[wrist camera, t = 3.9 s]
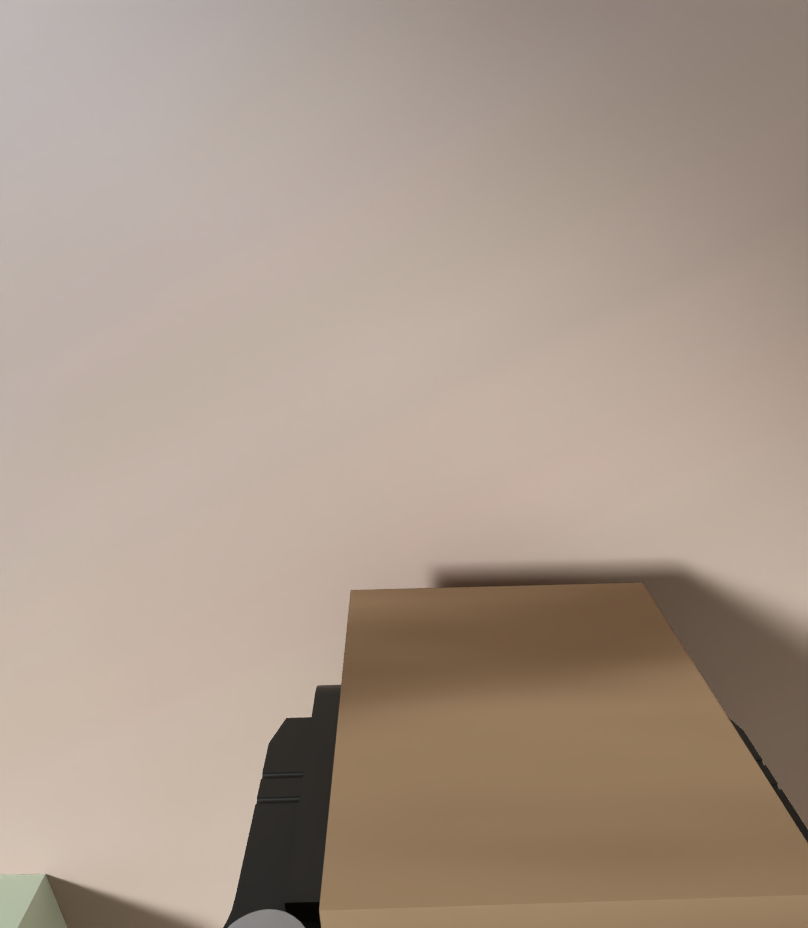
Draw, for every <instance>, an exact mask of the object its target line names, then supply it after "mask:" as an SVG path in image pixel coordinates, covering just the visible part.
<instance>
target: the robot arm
mask: <svg viewBox="0 0 808 928" xmlns="http://www.w3.org/2000/svg"><path fill="white" fill-rule="evenodd" d="M340 694H341V685H321V686H317V688H316V692H315V699H314V706H313V712H312V717H308V718H286V719H285V721H284V722H283V724H282V725H281V727H280V728H279V730H278V731H277V732H276V734H275V735H274V737H273V738H272V740H271V741H270V743H269V745H268V750H267V755H266V759H265V764H264V768H263V776H262V779H261V782H260V787H259V791H258V796H257V804H256V805H255V810H254V814H253V819H252V823H251V828H250V833H249V837H248V842H247V846H246V851H245V855H244V860H243V865H242V869H241V874H240V878H239V883H238V888H237V892H236V897H235V901H234V904H233V908H232V911H231V913H230V916H229V918H228V920H227V922H226V924H225V926H224V927H223V928H321V922H320V914H319V906H320V896H321V886H322V876H323V866H324V856H325V845H326V835H327V825H328V815H329V805H330V795H331V785H332V775H333V765H334V754H335V744H336V734H337V724H338V714H339V704H340ZM729 720H730V719H729ZM730 721H731V723H732V724H733V726H734V728H735V729H736V731H737V732H738V734H739V736H740V737H741V739H742V740H743V742H744V743H745V745H746V747H747V748H748V750H749V751H750V753H751V754H752V756H753V758H754V759H755V761H756V762H757V764H758V766H759V767H760V769H761V770H762V772H763V773H764V775H765V777H766V778H767V780H768V781H769V783H770V784H771V786H772V788H773V789H774V791H775V792H776V794H777V796H778V797H779V799H780V800H781V802H782V803H783V805H784V807H785V808H786V810H787V811H788V813H789V814H790V816H791V818H792V819H793V821H794V822H795V824H796V826H797V827H798V829H799V830H800V832H801V833H802V835H803V837H804V838H805V840H806V841H807V843H808V830H807V828H806V827H805V825H804V823H803V822H802V820H801V819H800V817H799V816H798V814H797V813H796V811H795V810H794V808H793V806H792V805H791V803H790V802H789V800H788V799H787V797H786V796H785V794H784V793H783V791H782V790H779V788H778V786H777V784H778V783H777V782H776V780H775V779H774V777H773V776H772V774H771V773H770V771H769V769H768V768H767V766H766V765H763V763H762V759H761V757H760V756H759V754H758V753H757V751H756V749H755V748H754V746H753V745H752V743H751V742H750V740H749V739H748V737H747V736H746V734H745V732H744V731H743V730H742V729H741V728H740V727H738V726H737V725H736V724H735V723H734V722H733V721H732V720H730Z"/></svg>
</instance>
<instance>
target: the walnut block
mask: <svg viewBox="0 0 808 928" xmlns="http://www.w3.org/2000/svg"><path fill="white" fill-rule="evenodd" d="M319 914H320V922H321V928H808V843H807V841H806V840H805V838H804V837H803V835H802V833H801V832H800V830H799V829H798V827H797V826H796V824H795V822H794V821H793V819H792V818H791V816H790V814H789V813H788V811H787V810H786V808H785V807H784V805H783V803H782V802H781V800H780V799H779V797H778V796H777V794H776V792H775V791H774V789H773V788H772V786H771V784H770V783H769V781H768V780H767V778H766V777H765V775H764V773H763V772H762V770H761V769H760V767H759V766H758V764H757V762H756V761H755V759H754V758H753V756H752V754H751V753H750V751H749V750H748V748H747V747H746V745H745V743H744V742H743V740H742V739H741V737H740V736H739V734H738V732H737V731H736V729H735V728H734V726H733V724H732V723H731V721H730V720H729V718H728V717H727V715H726V713H725V712H724V710H723V709H722V707H721V706H720V704H719V702H718V701H717V699H716V698H715V696H714V695H713V693H712V691H711V690H710V688H709V687H708V685H707V683H706V682H705V680H704V679H703V677H702V676H701V674H700V672H699V671H698V669H697V668H696V666H695V665H694V663H693V661H692V660H691V658H690V657H689V655H688V653H687V652H686V650H685V649H684V647H683V646H682V644H681V642H680V641H679V639H678V638H677V636H676V635H675V633H674V631H673V630H672V628H671V627H670V625H669V623H668V622H667V620H666V619H665V617H664V616H663V614H662V612H661V611H660V609H659V608H658V606H657V605H656V603H655V601H654V600H653V598H652V597H651V595H650V593H649V592H648V590H647V589H646V587H645V586H644V584H643V583H606V584H568V585H530V586H492V587H454V588H416V589H378V590H351V592H350V603H349V613H348V623H347V633H346V643H345V653H344V663H343V673H342V684H341V694H340V704H339V714H338V724H337V734H336V744H335V754H334V765H333V775H332V785H331V795H330V805H329V815H328V825H327V835H326V845H325V856H324V866H323V876H322V886H321V896H320V906H319Z"/></svg>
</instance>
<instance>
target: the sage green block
mask: <svg viewBox="0 0 808 928" xmlns="http://www.w3.org/2000/svg"><path fill="white" fill-rule="evenodd" d="M0 928H67V925H66V923H65V920H64V918H63V915H62V913H61V911H60V908H59V906H58V903H57V901H56V898H55V896H54V894H53V891H52V889H51V886H50V884H49V881H48V879H47V876H46V874H16V875H0Z"/></svg>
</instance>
